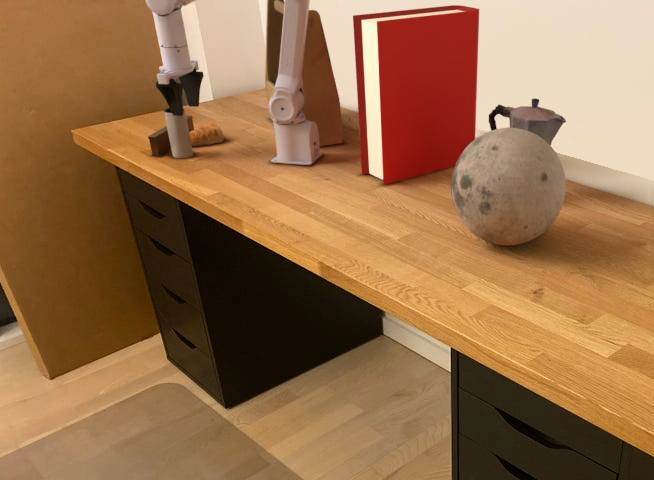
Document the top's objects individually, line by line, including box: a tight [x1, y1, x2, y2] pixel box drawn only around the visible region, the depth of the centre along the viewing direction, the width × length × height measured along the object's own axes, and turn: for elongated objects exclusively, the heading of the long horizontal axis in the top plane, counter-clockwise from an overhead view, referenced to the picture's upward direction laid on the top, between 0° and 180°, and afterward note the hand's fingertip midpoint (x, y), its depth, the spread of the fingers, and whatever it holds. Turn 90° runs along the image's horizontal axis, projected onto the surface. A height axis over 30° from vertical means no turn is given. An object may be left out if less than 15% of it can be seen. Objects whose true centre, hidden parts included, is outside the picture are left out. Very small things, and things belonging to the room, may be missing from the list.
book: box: [352, 4, 480, 186], centre depth 155 cm, size 27×8×32 cm, turn 131°
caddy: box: [264, 0, 344, 147], centre depth 177 cm, size 29×11×30 cm, turn 28°
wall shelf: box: [147, 114, 195, 157], centre depth 172 cm, size 2×18×4 cm, turn 171°
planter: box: [163, 107, 194, 159], centre depth 164 cm, size 4×4×10 cm
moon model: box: [450, 127, 567, 246], centre depth 126 cm, size 20×20×20 cm
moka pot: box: [488, 98, 567, 147], centre depth 144 cm, size 10×15×20 cm, turn 78°
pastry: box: [189, 122, 225, 147], centre depth 174 cm, size 9×7×4 cm
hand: (186, 110), depth 161 cm, fingers open, 7 cm apart
